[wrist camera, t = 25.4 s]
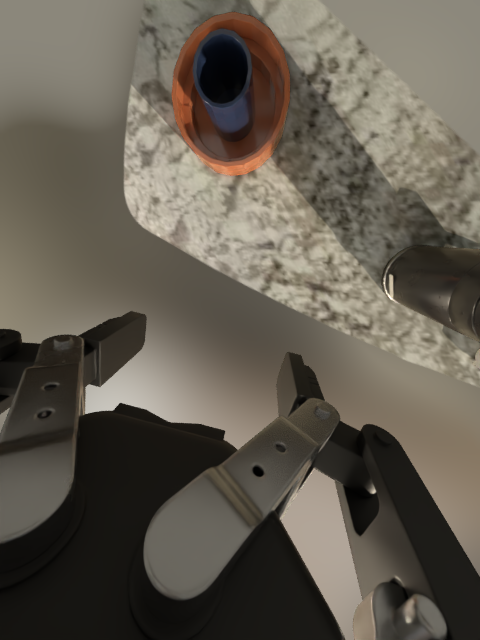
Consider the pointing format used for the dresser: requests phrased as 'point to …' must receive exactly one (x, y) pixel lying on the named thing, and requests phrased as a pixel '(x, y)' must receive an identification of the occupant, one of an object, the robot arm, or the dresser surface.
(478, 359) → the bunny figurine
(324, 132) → the dresser surface
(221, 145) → the bowl
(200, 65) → the blue cup
